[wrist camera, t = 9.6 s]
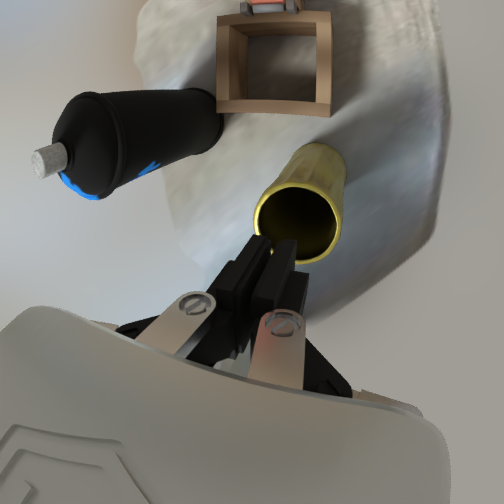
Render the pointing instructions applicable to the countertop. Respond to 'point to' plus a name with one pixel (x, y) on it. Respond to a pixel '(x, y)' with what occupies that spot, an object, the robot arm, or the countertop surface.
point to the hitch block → (269, 24)
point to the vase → (305, 203)
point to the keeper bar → (268, 6)
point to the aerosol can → (126, 137)
